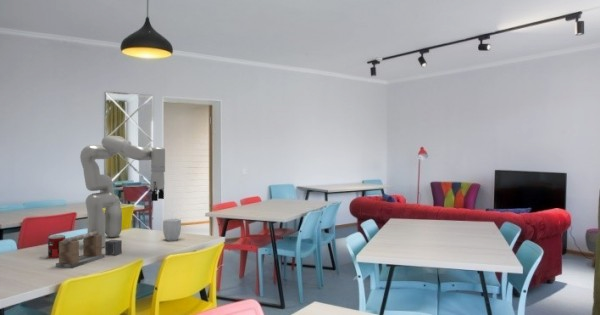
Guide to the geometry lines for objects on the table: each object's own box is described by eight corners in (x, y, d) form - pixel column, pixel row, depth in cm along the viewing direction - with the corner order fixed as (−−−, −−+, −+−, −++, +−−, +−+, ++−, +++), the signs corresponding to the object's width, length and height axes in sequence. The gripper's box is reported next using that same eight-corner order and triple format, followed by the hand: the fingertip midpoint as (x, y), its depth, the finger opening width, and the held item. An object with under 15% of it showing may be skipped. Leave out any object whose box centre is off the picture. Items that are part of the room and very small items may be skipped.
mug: (165, 237, 276) (165, 217, 276) (182, 236, 278) (182, 217, 278) (161, 241, 262) (161, 221, 262) (179, 241, 263) (179, 220, 263)
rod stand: (55, 266, 204) (55, 238, 204) (88, 255, 226) (88, 230, 225) (72, 268, 202) (72, 239, 202) (104, 257, 223) (104, 231, 223)
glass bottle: (107, 235, 280) (107, 193, 279) (123, 235, 281) (123, 193, 280) (102, 238, 270) (102, 195, 269) (118, 238, 271) (119, 195, 271)
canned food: (49, 255, 225) (49, 235, 225) (66, 254, 228) (66, 234, 228) (46, 259, 218) (47, 238, 218) (64, 257, 221) (64, 236, 221)
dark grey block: (105, 254, 228) (105, 241, 228) (111, 252, 233) (111, 239, 233) (115, 255, 227) (115, 242, 227) (121, 253, 231) (121, 240, 231)
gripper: (157, 168, 244) (157, 198, 244) (145, 170, 227) (145, 201, 227) (169, 168, 244) (169, 198, 244) (158, 170, 227) (158, 201, 227)
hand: (157, 199), depth 236 cm, fingers open, 9 cm apart
